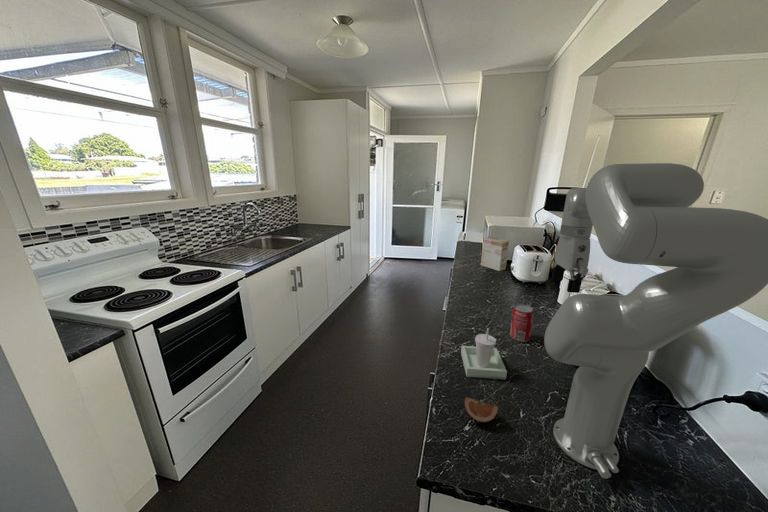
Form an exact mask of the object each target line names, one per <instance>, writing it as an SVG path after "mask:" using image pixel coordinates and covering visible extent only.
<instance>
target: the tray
mask: <svg viewBox="0 0 768 512" xmlns="http://www.w3.org/2000/svg"><path fill="white" fill-rule="evenodd" d="M460 348H461V349H460V354H461V358H462V363H463V368H464V371H465V376H466V377H468V378H481V379H491V380H492V379H493V380H507V375H508V374H507V373H508V371H507V369H506V366H505V364H504V362H503V359H502V357H501V354H500V353H499V349H498V348H497V347H494V349H493V352H492V356H491V359H490V363H489V366H488V367H487V368H481V367H479V366H478V365H477V353H476V346H470V345H461V347H460Z"/></svg>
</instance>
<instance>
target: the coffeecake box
mask: <svg viewBox="0 0 768 512" xmlns="http://www.w3.org/2000/svg"><path fill="white" fill-rule="evenodd" d="M482 239H483V241H482V250H481V260H480V262H481V263H480V266H482V267H485V268H489V269H492V270H494V271H497V272H501V271H504V270H506V268H507V261H508V252H509V247H510V246H509V244H510V240H505V239H501V238H496V237H493V236H492V237H491V236H488V237H483V238H482Z"/></svg>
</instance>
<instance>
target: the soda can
mask: <svg viewBox="0 0 768 512" xmlns="http://www.w3.org/2000/svg"><path fill="white" fill-rule="evenodd" d="M511 316H512V317H511V323H510V332H509V335H510V336H509V337H511V339H513V340H514V341H516V342H519V343H527V342H529V341H530V339H531V336H532V335H531V334H532V329H533V321H534V316H535V315H534V309H533V307H531V306H530V305H526V304H521V303H520V304H516V305H515V306H514V308H513V309H512V314H511Z"/></svg>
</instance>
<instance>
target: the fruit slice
mask: <svg viewBox="0 0 768 512" xmlns="http://www.w3.org/2000/svg"><path fill="white" fill-rule="evenodd" d="M463 403H464V409H465V411H466V413H467V414H468V416H469V417H471V418H472V419H473V420H474V421H477V422H479V423H487V422H490V421H492V420H493V419H495V418H496V416H497V414H498V411H499V406H498V405H497V406H496V405H493V404H490V403H487V402H483V401H480V400H478V399H477V400H476V399H474V398H472V397H467V396H465V398H464V402H463Z"/></svg>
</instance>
